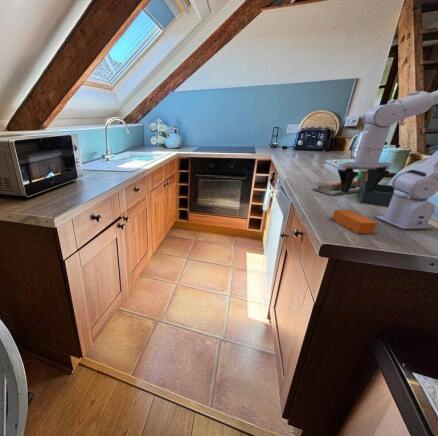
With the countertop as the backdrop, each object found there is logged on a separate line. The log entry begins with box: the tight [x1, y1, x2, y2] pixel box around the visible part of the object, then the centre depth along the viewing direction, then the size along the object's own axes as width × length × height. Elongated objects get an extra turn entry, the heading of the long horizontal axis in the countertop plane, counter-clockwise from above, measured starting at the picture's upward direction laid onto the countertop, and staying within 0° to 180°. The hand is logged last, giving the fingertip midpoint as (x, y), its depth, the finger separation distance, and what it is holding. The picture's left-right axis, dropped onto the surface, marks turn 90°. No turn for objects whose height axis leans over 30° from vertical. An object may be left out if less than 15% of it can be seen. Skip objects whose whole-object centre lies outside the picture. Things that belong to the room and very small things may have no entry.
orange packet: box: [331, 209, 378, 235], centre depth 76 cm, size 11×4×4 cm, turn 0°
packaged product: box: [312, 179, 360, 196], centre depth 111 cm, size 18×5×10 cm
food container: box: [356, 167, 368, 188], centre depth 117 cm, size 12×6×10 cm, turn 113°
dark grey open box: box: [357, 183, 394, 207], centre depth 98 cm, size 15×12×5 cm
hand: (356, 191), depth 79 cm, fingers open, 7 cm apart
